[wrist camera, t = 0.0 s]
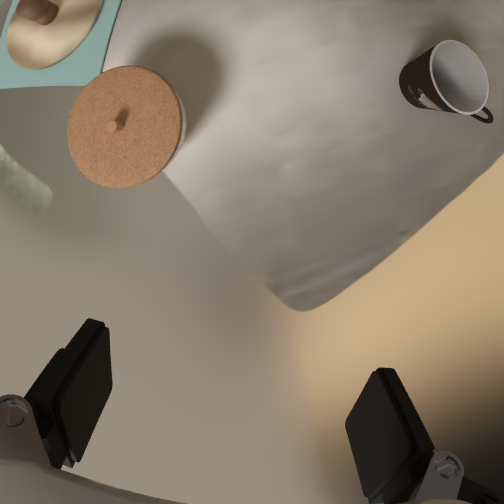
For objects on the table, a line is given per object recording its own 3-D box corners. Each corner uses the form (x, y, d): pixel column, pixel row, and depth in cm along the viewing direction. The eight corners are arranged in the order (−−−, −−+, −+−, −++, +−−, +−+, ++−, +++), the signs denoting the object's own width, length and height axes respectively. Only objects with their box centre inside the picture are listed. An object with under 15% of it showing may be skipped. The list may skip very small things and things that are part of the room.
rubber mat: (26, -29, 25) (25, -30, 25) (141, -50, 27) (140, -51, 26) (-11, 90, 32) (-12, 90, 32) (98, 85, 34) (97, 85, 34)
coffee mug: (379, 70, 34) (415, 54, 24) (423, 47, 32) (464, 31, 23) (423, 146, 37) (466, 152, 28) (463, 119, 35) (508, 121, 26)
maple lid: (30, -21, 26) (6, -34, 19) (119, -37, 27) (99, -59, 20) (0, 73, 31) (-29, 70, 25) (85, 67, 33) (57, 58, 26)
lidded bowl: (105, 181, 38) (62, 198, 28) (100, 88, 34) (56, 77, 24) (198, 173, 38) (180, 187, 28) (195, 73, 34) (175, 51, 24)
